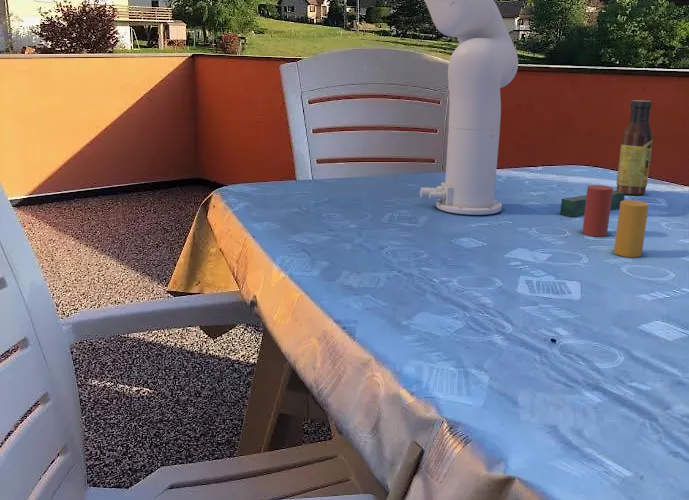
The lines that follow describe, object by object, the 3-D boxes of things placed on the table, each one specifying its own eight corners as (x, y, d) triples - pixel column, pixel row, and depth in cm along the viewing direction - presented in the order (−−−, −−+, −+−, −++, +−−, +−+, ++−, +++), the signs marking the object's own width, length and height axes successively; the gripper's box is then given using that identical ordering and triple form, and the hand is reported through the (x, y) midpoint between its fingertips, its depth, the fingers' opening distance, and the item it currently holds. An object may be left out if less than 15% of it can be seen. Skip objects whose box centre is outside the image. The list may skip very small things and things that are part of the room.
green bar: (571, 217, 132) (573, 201, 131) (560, 214, 134) (561, 198, 133) (623, 207, 141) (625, 192, 140) (611, 205, 143) (613, 190, 142)
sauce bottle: (648, 196, 151) (661, 102, 146) (617, 195, 153) (629, 101, 147) (642, 190, 158) (654, 100, 152) (612, 189, 159) (624, 99, 153)
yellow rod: (621, 257, 107) (628, 205, 105) (609, 250, 111) (615, 200, 109) (646, 257, 107) (653, 205, 105) (633, 250, 111) (640, 200, 109)
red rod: (588, 236, 118) (593, 189, 116) (578, 230, 122) (583, 184, 120) (611, 236, 119) (617, 189, 117) (600, 230, 123) (606, 185, 120)
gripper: (677, -104, 116) (662, 6, 120) (666, -126, 101) (649, 0, 106) (729, -108, 112) (711, 6, 117) (724, -131, 98) (704, 0, 102)
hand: (682, 3), depth 111 cm, fingers open, 9 cm apart
